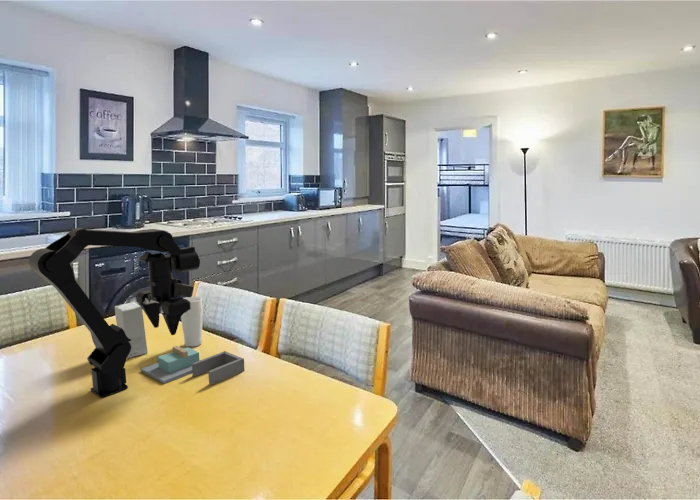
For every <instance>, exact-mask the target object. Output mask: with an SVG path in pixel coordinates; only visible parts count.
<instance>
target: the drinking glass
mask: <svg viewBox="0 0 700 500" xmlns="http://www.w3.org/2000/svg"><path fill="white" fill-rule="evenodd" d="M183 298H184V299H187V300H188V301H190V304H191V309H190V310H188V311H187V312H185V313H184V314H183V315H182V316H181V318H180V320H181V321H180V322H181V327H182V332H183V333H182V334H183V339H184V340H183V342H184V345H185V346H186V347H189V348H192V347H193V348H194V347H198V346H200V345H201V344H203V317H204V316H203V314H204V310H203V308H204V306H203V298H202V297H200V296H191V297H187V296H185V297H183Z"/></svg>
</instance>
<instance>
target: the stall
mask: <svg viewBox="0 0 700 500" xmlns="http://www.w3.org/2000/svg"><path fill="white" fill-rule="evenodd" d="M244 371H245V358H243V357H241V356H238V355H235V354H233V353H230V352H228V351H225V350H223V351H222V352H219V353H216V354H213V355H210V356H209V357H208V356H207V357H205V358H203V359H199V361H197V362H195V363H192V373H191V375H192V376H193V377H194V378H195V377H197V376H199V375H202V374H206V373H207V374H208V384H209V385H210V386H212V385H215V384H217V383H220V382H221V381H224V380H227V379H229V378H230V377H233V376H235V375H238V374H240V373H242V372H244Z"/></svg>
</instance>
